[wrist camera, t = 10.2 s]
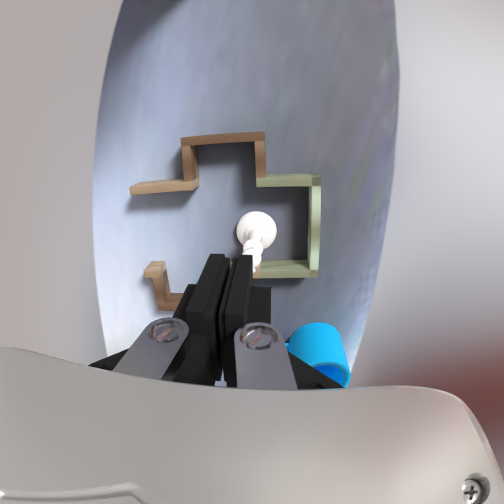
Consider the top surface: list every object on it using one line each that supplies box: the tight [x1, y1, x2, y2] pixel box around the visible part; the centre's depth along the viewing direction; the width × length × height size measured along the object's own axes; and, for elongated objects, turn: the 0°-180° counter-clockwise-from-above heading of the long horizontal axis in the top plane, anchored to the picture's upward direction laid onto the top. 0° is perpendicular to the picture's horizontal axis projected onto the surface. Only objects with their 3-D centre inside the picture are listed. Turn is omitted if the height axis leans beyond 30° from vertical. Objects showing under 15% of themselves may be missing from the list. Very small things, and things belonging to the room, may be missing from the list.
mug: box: [285, 323, 351, 388], centre depth 39 cm, size 12×8×8 cm
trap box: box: [129, 132, 321, 311], centre depth 35 cm, size 22×22×3 cm
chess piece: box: [237, 211, 277, 273], centre depth 32 cm, size 5×5×10 cm
